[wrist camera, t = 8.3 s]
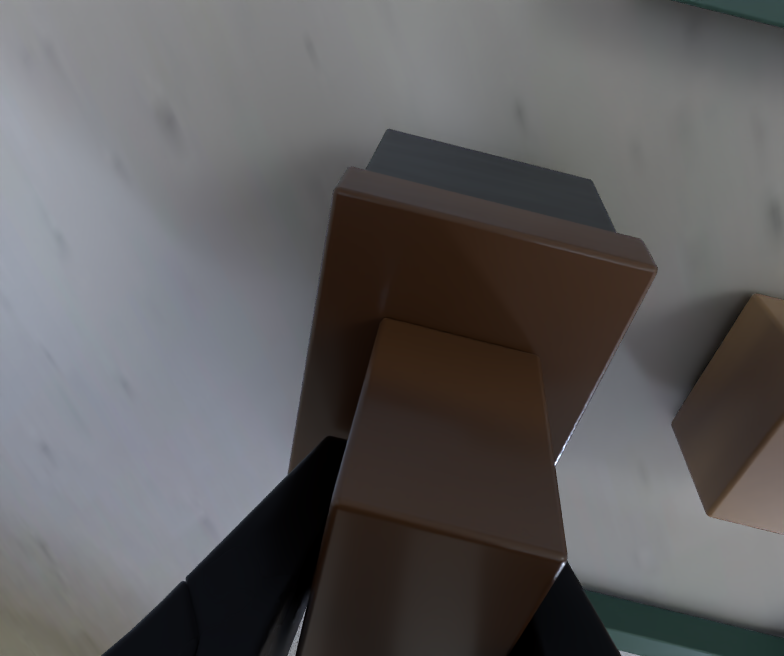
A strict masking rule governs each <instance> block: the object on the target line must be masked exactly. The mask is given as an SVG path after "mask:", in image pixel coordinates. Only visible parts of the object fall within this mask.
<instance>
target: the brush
mask: <svg viewBox="0 0 784 656" xmlns="http://www.w3.org/2000/svg"><path fill="white" fill-rule="evenodd" d="M657 270H658V267H657V265H656V264H655V262H654V260H653V258H652V256H651V254H650V253H649V251H648V249H647V247H646V245H645V243H644V242H643V241H642V240H641V239H639V238H635V237H631V236H627V235H623V234H619V233H617V232H616V230H615V228H614V226H613V224H612V222H611V220H610V217H609V215H608V213H607V211H606V209H605V207H604V205H603V203H602V200H601V198H600V196H599V194H598V192H597V190H596V188H595V185H594V183H593V181H592V180H590V179H586V178H582V177H578V176H574V175H570V174H566V173H562V172H558V171H554V170H550V169H546V168H542V167H538V166H534V165H530V164H526V163H523V162H519V161H515V160H511V159H507V158H503V157H499V156H495V155H491V154H487V153H483V152H479V151H475V150H471V149H467V148H463V147H459V146H455V145H451V144H447V143H443V142H439V141H435V140H431V139H427V138H423V137H419V136H415V135H411V134H407V133H403V132H399V131H395V130H391V129H387V130H386V132H385V134H384V135H383V137H382V139H381V141H380V143H379V145H378V147H377V149H376V151H375V152H374V154H373V156H372V158H371V160H370V162H369V164H368V166H367V168H366V170H364V169H360V168H356V167H348V168H347V169H346V171H345V172H344V174H343V176H342V177H341V179H340V181H339V182H338V184H337V186H336V187H335V189H334V190H333V196H332V202H331V208H330V214H329V220H328V227H327V233H326V239H325V245H324V252H323V258H322V264H321V270H320V276H319V283H318V289H317V295H316V301H315V307H314V314H313V320H312V326H311V332H310V339H309V345H308V351H307V357H306V363H305V370H304V376H303V382H302V388H301V394H300V401H299V407H298V413H297V419H296V426H295V432H294V438H293V444H292V450H291V457H290V463H289V469H288V474H289V473H290V472H291V471H292V470H293V469H294V468H295V467H296V466H297V465H298V464H299V463H300V462H301V461H302V460H303V459H304V458H305V457H306V456H307V455H308V454H309V453H310V452H311V451H312V450H313V449H314V448H315V447H316V446H317V445H318V444H319V443H320V442H321V441H322V440H323V439H324V438H325V437H327V436H334V437H338V438H342V439H346V440H348V441H347V444H346V448H345V451H344V455H343V459H342V462H341V466H340V470H339V473H338V477H337V481H336V484H335V488H334V492H333V495H332V499H331V503H330V507H329V512H328V516H327V520H326V525H325V529H324V533H323V538H322V542H321V546H320V551H319V555H318V560H317V564H316V568H315V573H314V577H313V581H312V586H311V590H310V594H309V599H308V603H307V608H306V612H305V616H304V621H303V625H302V629H301V634H300V638H299V642H298V647H297V651H296V656H509V654H510V653H511V651H512V649H513V648H514V646H515V645H516V643H517V641H518V640H519V638H520V637H521V635H522V633H523V632H524V630H525V629H526V627H527V625H528V624H529V622H530V621H531V619H532V617H533V616H534V614H535V612H536V611H537V609H538V608H539V606H540V604H541V603H542V601H543V600H544V598H545V596H546V595H547V593H548V592H549V590H550V588H551V587H552V585H553V584H554V582H555V580H556V579H557V577H558V576H559V574H560V572H561V571H562V569H563V568H564V566H565V564H566V562H567V559H568V558H567V548H566V541H565V534H564V527H563V519H562V512H561V505H560V498H559V491H558V483H557V476H556V469H555V466H556V464H557V462H558V460H559V459H560V457H561V455H562V453H563V451H564V449H565V447H566V445H567V443H568V441H569V440H570V438H571V436H572V434H573V432H574V430H575V428H576V426H577V424H578V422H579V421H580V419H581V417H582V415H583V413H584V411H585V409H586V407H587V405H588V403H589V401H590V400H591V398H592V396H593V394H594V392H595V390H596V388H597V386H598V384H599V382H600V381H601V379H602V377H603V375H604V373H605V371H606V369H607V367H608V365H609V363H610V362H611V360H612V358H613V356H614V354H615V352H616V350H617V348H618V346H619V344H620V343H621V341H622V339H623V337H624V335H625V333H626V331H627V329H628V327H629V325H630V323H631V322H632V320H633V318H634V316H635V314H636V312H637V310H638V308H639V306H640V304H641V303H642V301H643V299H644V297H645V295H646V293H647V291H648V289H649V287H650V285H651V284H652V282H653V280H654V278H655V276H656V274H657Z"/></svg>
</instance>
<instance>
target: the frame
mask: <svg viewBox="0 0 784 656" xmlns="http://www.w3.org/2000/svg"><path fill="white" fill-rule="evenodd" d="M672 1H676V2H680V3H684V4H688V5H692V6H696V7H700V8H704V9H708V10H712V11H716V12H720V13H724V14H728V15H732V16H736V17H740V18H745V19H749V20H753V21H757V22H761V23H765V24H769V25H773V26H777V27H781V28H784V0H672ZM583 590H584V589H583ZM584 591H585V593H586V595H587V597H588V598H589V600H590V602H591V604H592V605H593V607H594V609H595V611H596V612H597V614H598V616H599V618H600V619H601V621H602V623H603V624H604V626H605V628H606V630H607V631H608V633H609V635H610V637H611V638H612V640H613V642H614V644H615V645H616V647H617V649H618V650H620V651H624V652H628V653H632V654H636V655H640V656H784V638H780V637H776V636H772V635H768V634H764V633H760V632H756V631H752V630H748V629H744V628H739V627H735V626H731V625H727V624H723V623H719V622H715V621H711V620H707V619H703V618H699V617H694V616H690V615H686V614H682V613H678V612H674V611H670V610H666V609H662V608H658V607H653V606H649V605H645V604H641V603H637V602H633V601H629V600H625V599H621V598H617V597H612V596H608V595H604V594H600V593H596V592H592V591H588V590H584Z"/></svg>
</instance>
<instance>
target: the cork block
mask: <svg viewBox="0 0 784 656" xmlns="http://www.w3.org/2000/svg"><path fill="white" fill-rule="evenodd" d="M671 426H672V428H673V431H674V433H675V436H676V438H677V441H678V444H679V446H680V449H681V451H682V454H683V456H684V459H685V461H686V464H687V467H688V469H689V472H690V474H691V477H692V479H693V482H694V484H695V487H696V489H697V492H698V495H699V497H700V500H701V502H702V505H703V507H704V510H705V512H706V514H707V515H708V516H710V517H713V518H717V519H721V520H725V521H729V522H733V523H737V524H742V525H746V526H750V527H754V528H758V529H762V530H766V531H770V532H774V533H779V534H783V535H784V300H782V299H778V298H773V297H769V296H765V295H761V294H757V293H755V294H753V295H752V296H751V297H750V299H749V300H748V302H747V304H746V305H745V307H744V308H743V310H742V312H741V313H740V315H739V316H738V318H737V319H736V321H735V323H734V324H733V326H732V327H731V329H730V330H729V332H728V334H727V335H726V337H725V338H724V340H723V342H722V343H721V345H720V346H719V348H718V349H717V351H716V353H715V354H714V356H713V357H712V359H711V360H710V362H709V364H708V365H707V367H706V368H705V370H704V372H703V373H702V375H701V376H700V378H699V379H698V381H697V383H696V384H695V386H694V387H693V389H692V390H691V392H690V394H689V395H688V397H687V398H686V400H685V401H684V403H683V405H682V406H681V408H680V409H679V411H678V413H677V414H676V416H675V417H674V419H673V420H672V423H671Z"/></svg>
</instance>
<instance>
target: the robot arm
mask: <svg viewBox="0 0 784 656" xmlns="http://www.w3.org/2000/svg"><path fill="white" fill-rule="evenodd" d="M347 441H348V440H346V439H342V438H338V437H334V436H327V437H325V438H324V439H323V440H322V441H321V442H320V443H319V444H318V445H317V446H316V447H315V448H314V449H313V450H312V451H311V452H310V453H309V454H308V455H307V456H306V457H305V458H304V459H303V460H302V461H301V462H300V463H299V464H298V465H297V466H296V467H295V468H294V469H293V470H292V471H291V472H290V473H289V474H288V475H287V476H286V477H285V478H284V479H283V480H282V481H281V482H280V483H279V484H278V485H277V486H276V487H275V488H274V489H273V490H272V491H271V492H270V493H269V494H268V495H267V496H266V497H265V498H264V499H263V500H262V501H261V502H260V503H259V504H258V505H257V506H256V507H255V508H254V509H253V510H252V511H251V512H250V513H249V514H248V515H247V516H246V517H245V518H244V519H243V520H242V521H241V522H240V524H239V525H238V526H237V527H236V528H235V529H234V530H233V531H232V532H231V533H230V534H229V535H228V536H227V537H226V538H225V539H224V540H223V541H222V542H221V543H220V544H219V545H218V546H217V547H216V548H215V549H214V550H213V551H212V552H211V553H210V554H209V555H208V556H207V557H206V558H205V559H204V560H203V561H202V562H201V563H200V564H199V565H198V566H197V567H196V568H195V569H194V570H193V571H192V572H191V573H190V574H189V575H188V576H187V577H186V582H185V581H182V582H180V583H179V584H178V585H177V586H176V587H175V588H174V589H173V590H172V591H171V592H170V593H169V594H168V595H167V596H166V598H165V599H164V600H163V601H161V602H160V603H159V604H158V605H157V606H156V607H155V608H154V609H153V610H152V611H151V612H150V613H149V614H148V615H147V616H146V617H145V618H144V619H142V620H141V621H140V622H139V623H138V624H137V625H136V626H135V627H134V628H133V629H132V630H131V631H130V632H128V633H127V634H126V635H125V636H124V637H123V638H121V639H120V640H119V641H118V642H117V643H115V644H114V645H113V646H112V647H111V648H110V649H108V650H107V651H106V652H105V653H104V654H103V655H101V656H287V655H288V653H289V650H290V647H291V645H292V642H293V640H294V637H295V635H296V632H297V630H298V627H299V624H300V622H301V619H302V617H303V614H304V612H305V609H306V607H307V603H308V599H309V594H310V590H311V586H312V581H313V577H314V573H315V568H316V564H317V560H318V555H319V551H320V546H321V542H322V538H323V533H324V529H325V525H326V520H327V516H328V512H329V507H330V503H331V499H332V495H333V492H334V488H335V484H336V481H337V477H338V473H339V470H340V466H341V462H342V459H343V455H344V451H345V448H346V444H347ZM509 656H621V654H620V652H619V651H618V649H617V647H616V645H615V644H614V642H613V640H612V638H611V637H610V635H609V633H608V631H607V630H606V628H605V626H604V624H603V623H602V621H601V619H600V618H599V616H598V614H597V612H596V611H595V609H594V607H593V605H592V604H591V602H590V600H589V598H588V597H587V595H586V593H585V591H584V590H583V588H582V586H581V584H580V583H579V581H578V579H577V577H576V576H575V574H574V572H573V570H572V569H571V567H570V565H569V563H568V562H566V564H565V566H564V568H563V569H562V571H561V572H560V574H559V576H558V577H557V579H556V580H555V582H554V584H553V585H552V587H551V588H550V590H549V592H548V593H547V595H546V596H545V598H544V600H543V601H542V603H541V604H540V606H539V608H538V609H537V611H536V612H535V614H534V616H533V617H532V619H531V621H530V622H529V624H528V625H527V627H526V629H525V630H524V632H523V633H522V635H521V637H520V638H519V640H518V641H517V643H516V645H515V646H514V648H513V649H512V651H511V653H510V654H509Z"/></svg>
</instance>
